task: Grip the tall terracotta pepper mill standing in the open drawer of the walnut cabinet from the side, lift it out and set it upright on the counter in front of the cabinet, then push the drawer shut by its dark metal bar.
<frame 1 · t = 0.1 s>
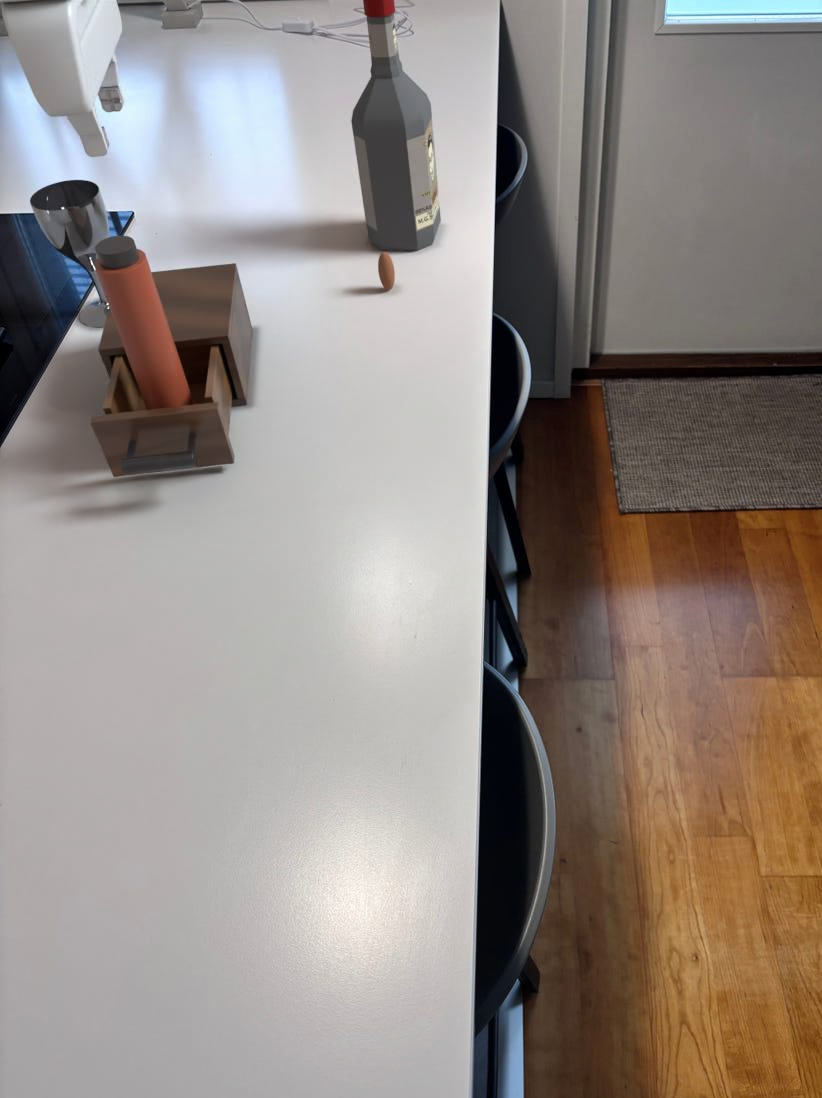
hand: (107, 130, 85), 31 cm above the counter, tool pointing down, fingers open, 8 cm apart
cabinet: (191, 372, 115), on the counter
pepper mill: (176, 423, 105), point 2 cm above the counter, touching drawer
wine glass: (108, 313, 126), on the counter
liquor: (405, 236, 135), on the counter
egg: (389, 291, 126), on the counter
drawer: (169, 414, 103), point 4 cm above the counter, slide at 10.5 cm, touching pepper mill
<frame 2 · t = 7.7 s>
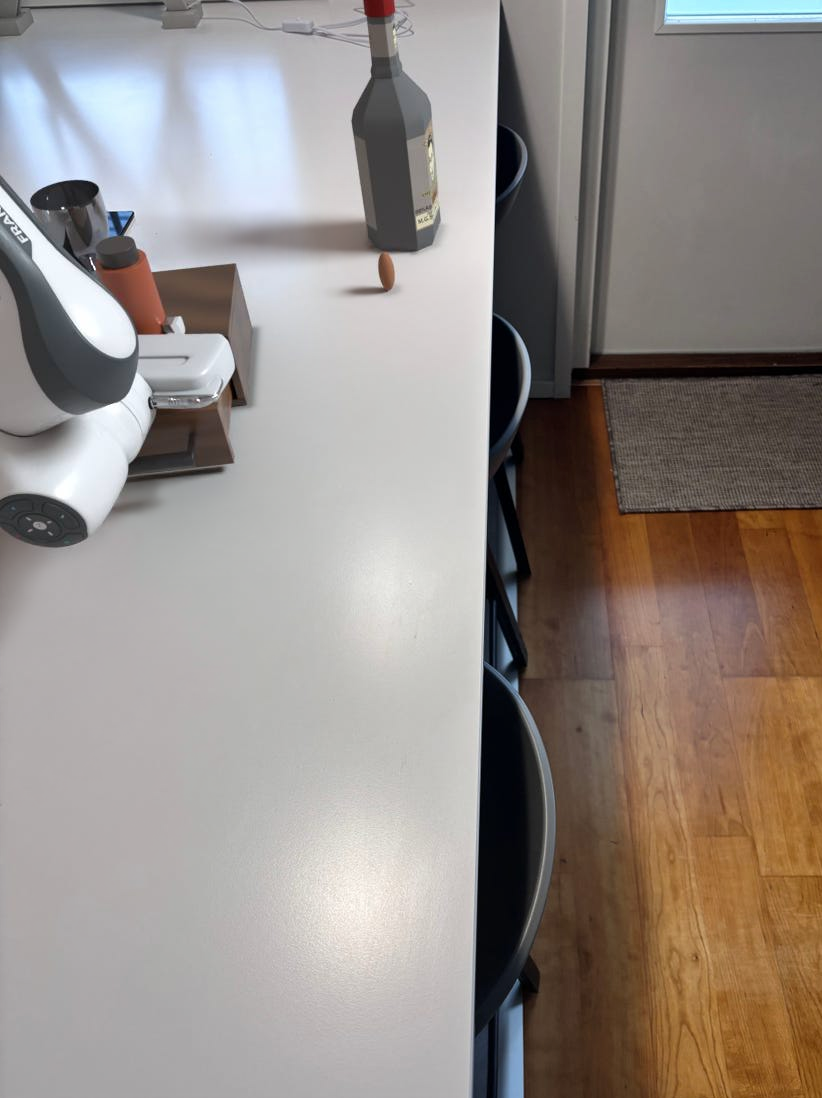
hand: (145, 323, 97), 14 cm above the counter, tool horizontal, fingers closed on pepper mill, 5 cm apart
pepper mill: (176, 423, 105), point 2 cm above the counter, touching drawer, gripper
everything else where it was.
when the fingers open (11 cm above the counter, at t = 17.2 s): pepper mill stays where it is, on the counter.
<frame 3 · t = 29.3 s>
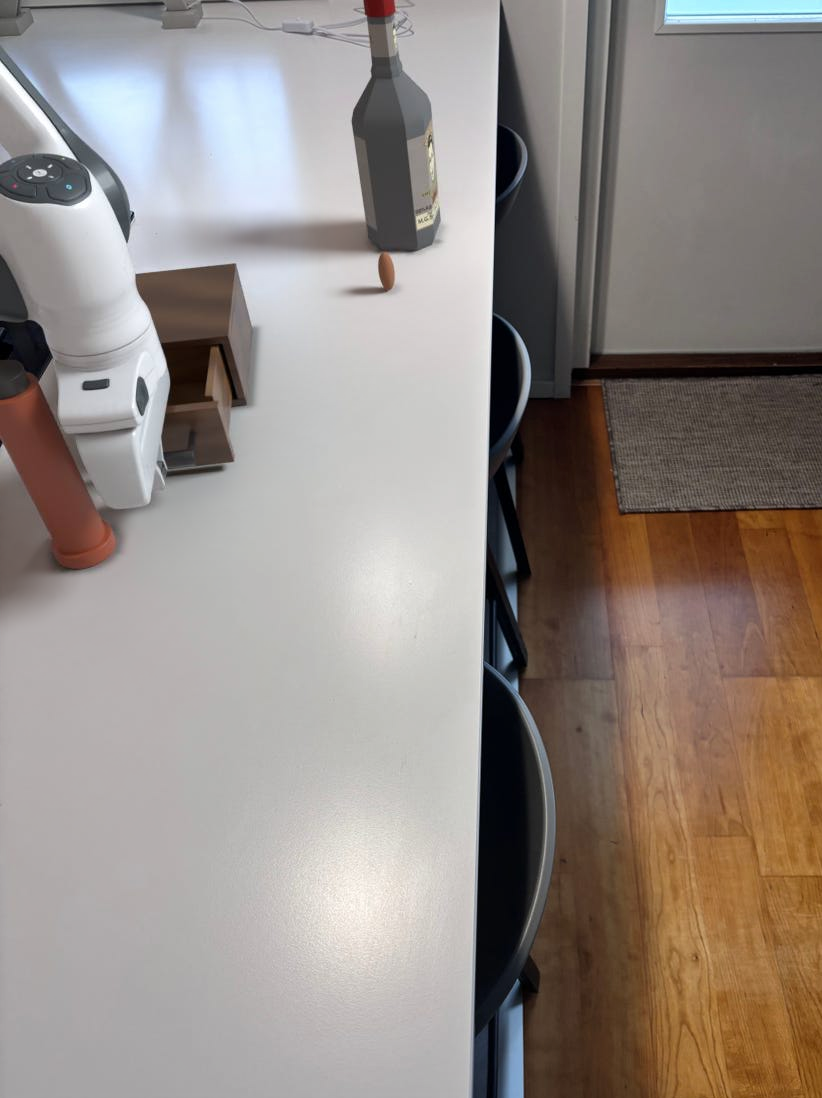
hand: (158, 481, 96), 4 cm above the counter, tool pointing down, fingers closed
pepper mill: (86, 548, 96), on the counter
drawer: (169, 412, 103), point 4 cm above the counter, slide at 10.3 cm, touching gripper
everything else where it was.
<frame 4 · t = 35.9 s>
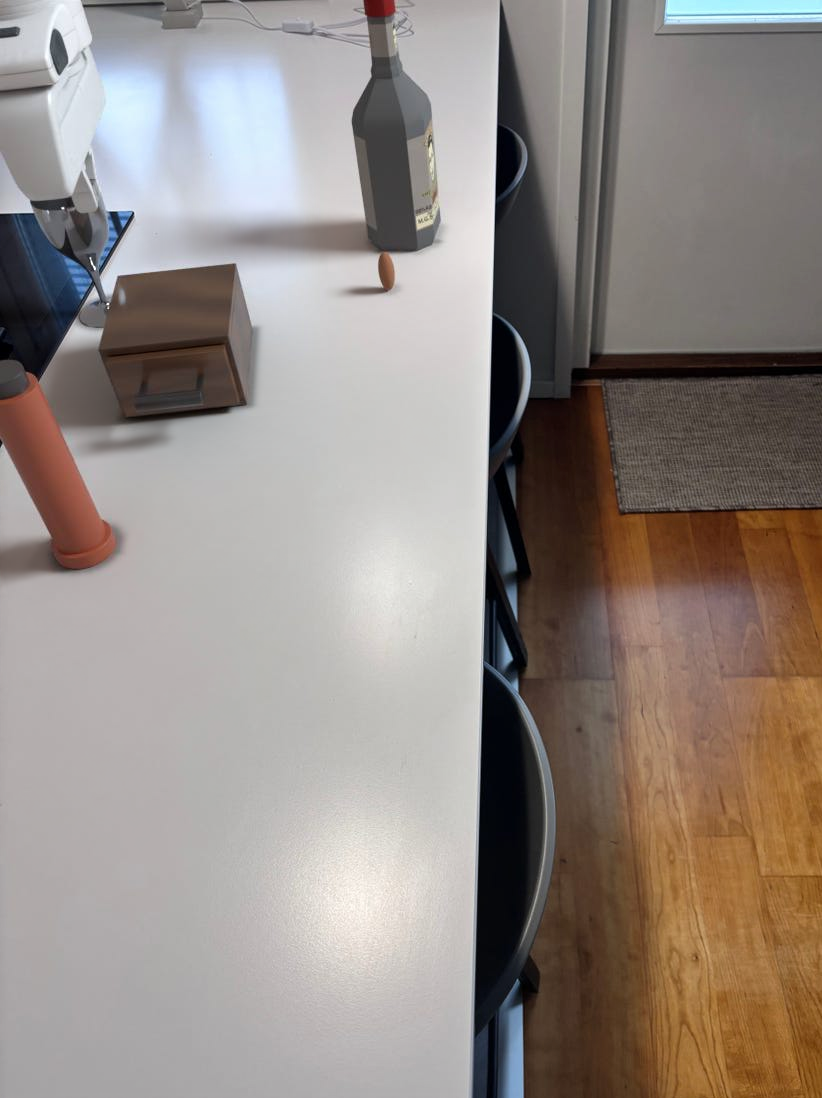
hand: (90, 205, 85), 27 cm above the counter, tool pointing down, fingers closed
drawer: (178, 358, 110), point 4 cm above the counter, slide at 0.0 cm, touching cabinet
everything else where it was.
at the end: pepper mill inside the target area (0.1 cm from its centre), on the counter; pepper mill tilted 0°; drawer slide at 0.0 cm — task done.
